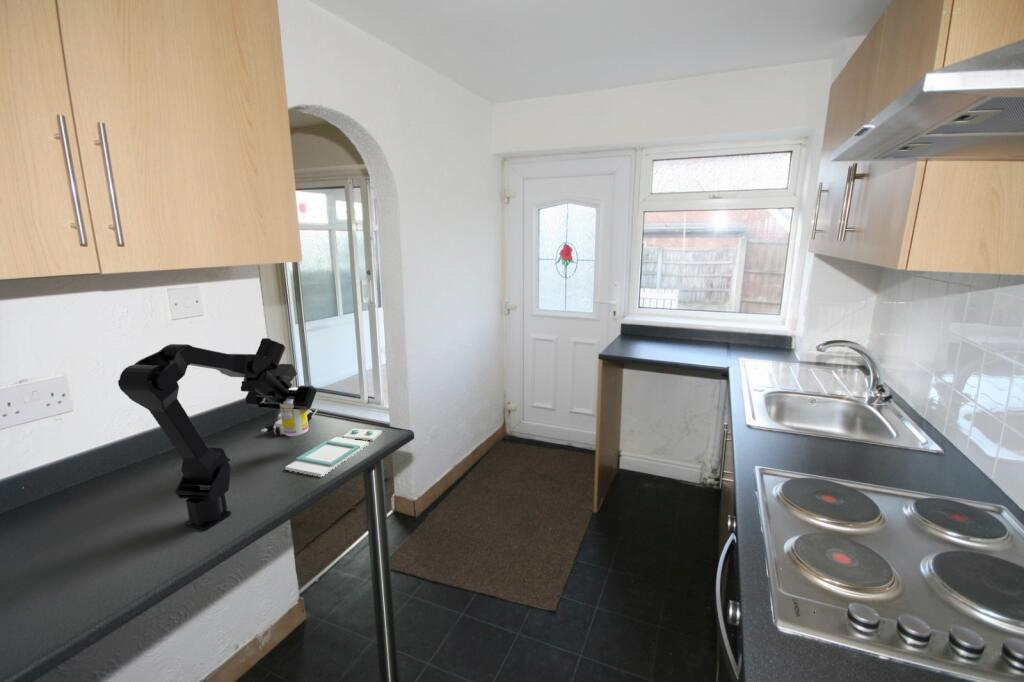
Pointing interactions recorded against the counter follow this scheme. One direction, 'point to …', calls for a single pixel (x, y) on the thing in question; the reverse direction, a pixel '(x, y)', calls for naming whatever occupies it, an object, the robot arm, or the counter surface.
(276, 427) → the robot toy
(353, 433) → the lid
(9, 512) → the counter surface
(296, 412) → the supplement bottle
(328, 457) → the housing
